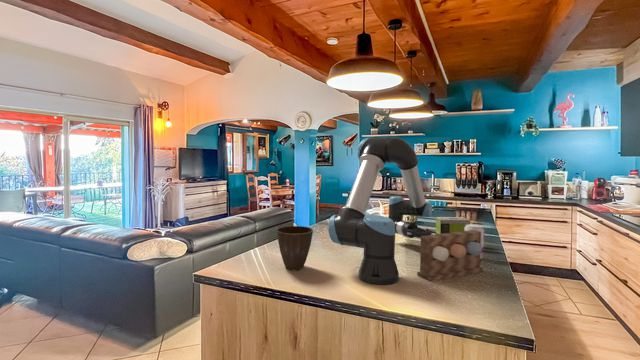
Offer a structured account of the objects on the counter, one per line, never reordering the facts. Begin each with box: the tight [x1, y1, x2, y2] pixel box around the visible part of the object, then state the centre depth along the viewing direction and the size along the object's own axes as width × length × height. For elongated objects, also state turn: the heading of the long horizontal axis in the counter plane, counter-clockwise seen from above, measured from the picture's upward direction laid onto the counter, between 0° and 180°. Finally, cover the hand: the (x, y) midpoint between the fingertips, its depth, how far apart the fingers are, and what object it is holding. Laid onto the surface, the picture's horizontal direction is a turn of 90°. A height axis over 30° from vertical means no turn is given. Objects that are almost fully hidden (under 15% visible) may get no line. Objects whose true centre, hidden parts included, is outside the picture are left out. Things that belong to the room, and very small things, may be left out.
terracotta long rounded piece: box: [450, 243, 466, 258], centre depth 132 cm, size 5×9×5 cm, turn 25°
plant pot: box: [276, 225, 314, 271], centre depth 138 cm, size 15×15×16 cm
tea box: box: [435, 216, 471, 234], centre depth 176 cm, size 15×10×15 cm, turn 84°
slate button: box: [467, 241, 482, 256], centre depth 136 cm, size 5×9×5 cm, turn 25°
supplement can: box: [464, 223, 485, 260], centre depth 155 cm, size 8×8×15 cm
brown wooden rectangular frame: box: [416, 230, 484, 283], centre depth 133 cm, size 28×7×16 cm, turn 115°
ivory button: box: [432, 246, 449, 261], centre depth 128 cm, size 5×9×5 cm, turn 25°
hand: (443, 239), depth 148 cm, fingers closed
